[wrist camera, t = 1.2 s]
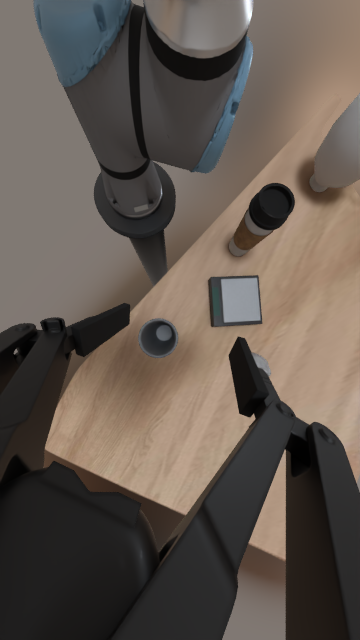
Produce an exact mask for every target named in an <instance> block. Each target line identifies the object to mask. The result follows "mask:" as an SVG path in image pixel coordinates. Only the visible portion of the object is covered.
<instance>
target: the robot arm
mask: <svg viewBox="0 0 360 640" xmlns="http://www.w3.org/2000/svg"><path fill="white" fill-rule="evenodd" d="M143 2H144V7H141V6H138V5H135V4H133V3H132V1H131V0H34V11H35V17H36V21H37V24H38V27H39V31H40V33H41V36H42V38H43V40H44V43H45V45H46V48H47V50H48V52H49V55H50V57H51V60H52V62H53V64H54V67H55V69H56V72H57V75H58V79H59V81H60V82H61V84H62V85H63V87H64V89H65V91H66V93H67V96H68V98H69V100H70V102H71V104H72V107H73V109H74V111H75V113H76V115H77V117H78V119H79V122H80V124H81V126H82V128H83V130H84V132H85V134H86V136H87V139H88V141H89V143H90V145H91V147H92V150H93V152H94V154H95V156H96V158H97V160H98V162H99V165H100V168H101V173H102V178H103V183H104V189H105V193H106V196H107V199H108V201H109V203H110V204H111V206H112V208H113V209H114V210H115V212H116V213H118V214H119V215H120V216H122V217H124V218H126V219H130V220H143V219H146V218H148V217H150V216H152V215H153V214H154V213H155V212H156V211H157V210H158V209H159V207H160V205H161V202H162V187H161V183H160V179H159V177H158V174H157V171H156V169H155V166H154V163H153V161H157V162H161V163H164V164H168V165H171V166H175V167H179V168H182V169H186V170H189V171H191V172H195V171H196V172H201V173H209V172H211V171H212V170H213V169H214V168H215V166H216V165H217V163H218V161H219V159H220V157H221V154H222V152H223V149H224V146H225V144H226V141H227V139H228V136H229V133H230V131H231V128H232V125H233V122H234V119H235V113H236V111H237V109H238V106H239V103H240V100H241V97H242V94H243V91H244V88H245V84H246V81H247V77H248V74H249V70H250V65H251V61H252V56H253V45H252V43H251V42H250V39H249V37H247V36H246V35H247V31H248V27H249V23H250V19H251V15H252V9H253V0H143ZM152 160H153V161H152ZM129 321H130V305H129V304H126V303H123V304H121V305H119V306H117V307H114V308H112V309H110V310H108V311H105V312H103V313H101V314H99V315H96V316H93V317H89V318H86V319H84V320H82V321H80V322H77V323H75V324H72V325H70V326H68V327H66V326H65V322H64V320H63V319H62V318H48V319H44V320H42V321H41V322H40V323H41V326H42V329H43V330H37V329H36V326H35V325H34V324H30V323H27V324H25V323H24V324H18V325H15V326H12V327H10V328H9V329H7V330H5V331H3V332H1V333H0V640H222V638H223V635H224V632H225V629H226V626H227V623H228V621H229V618H230V615H231V612H232V609H233V606H234V602H235V599H236V594H237V588H238V580H237V574H238V569H239V566H240V563H241V560H242V558H243V555H244V553H245V550H246V548H247V545H248V542H249V540H250V537H251V535H252V532H253V530H254V527H255V524H256V522H257V519H258V517H259V514H260V512H261V509H262V506H263V504H264V501H265V499H266V496H267V494H268V491H269V488H270V486H271V483H272V481H273V478H274V476H275V473H276V470H277V468H278V465H279V463H280V460H281V458H282V455H283V452H284V450H285V449H286V640H360V492H359V489H358V487H357V483H356V481H355V478H354V475H353V472H352V469H351V466H350V463H349V460H348V458H347V455H346V452H345V449H344V446H343V444H342V443H341V441H340V440H339V438H338V437H337V436H336V435H335V434H334V433H333V432H332V431H331V430H330V429H328V428H327V427H326V426H324V425H322V424H320V423H318V422H313V423H312V424H310V425H309V424H307V423H305V422H304V421H302V420H300V419H299V418H297V417H296V416H295V414H294V412H293V411H292V410H291V408H290V407H289V406H288V405H286V404H285V403H284V402H282V401H281V400H280V398H279V396H278V394H277V392H276V391H275V389H274V387H273V385H272V383H271V381H270V379H269V377H268V375H267V373H266V372H265V371H264V370H263V369H262V368H258V367H257V364H256V362H255V360H254V358H253V355H252V353H251V351H250V349H249V346H248V344H247V342H246V340H245V338H241V337H238V338H237V340H236V342H235V344H234V346H233V348H232V350H231V352H230V354H229V360H230V365H231V371H232V376H233V382H234V387H235V392H236V398H237V403H238V409H239V414H242V415H244V416H247V417H251V416H252V415H253V413H254V415H255V418H256V419H255V420H254V422H253V423H252V424H251V425H250V426H249V429H248V430H247V431H246V433H245V434H244V436H243V437H242V438H241V440H240V441H239V442H238V444H237V445H236V447H235V448H234V449H233V451H232V452H231V454H230V455H229V456H228V458H227V459H226V461H225V462H224V463H223V465H222V466H221V467H220V469H219V470H218V472H217V473H216V474H215V476H214V477H213V479H212V480H211V481H210V483H209V484H208V486H207V487H206V488H205V490H204V491H203V492H202V494H201V495H200V497H199V498H198V499H197V501H196V502H195V504H194V505H193V506H192V508H191V509H190V511H189V512H188V513H187V515H186V516H185V517H184V519H183V520H182V521H181V522H180V524H179V525H178V526H177V527H176V529H175V530H174V531H173V533H172V534H171V535H170V537H169V538H168V540H167V541H166V542H165V544H164V545H163V547H162V548H161V549H160V551H159V552H158V549H157V545H156V540H155V537H154V534H153V531H152V529H151V526H150V524H149V522H148V520H147V518H146V517H145V515H144V514H143V512H142V511H141V510H140V506H141V503H139V502H137V501H135V500H133V499H131V498H129V497H127V496H125V495H123V494H121V493H119V492H90V491H89V490H88V489H87V488H86V486H85V485H84V484H83V482H82V481H81V480H80V478H79V477H78V475H77V474H76V473H75V471H74V470H72V469H70V468H68V467H66V466H64V465H62V464H59V463H57V462H55V461H53V462H52V464H51V465H50V466H49V467H47V468H43V465H44V449H45V444H46V441H47V438H48V434H49V431H50V427H51V424H52V420H53V417H54V414H55V410H56V407H57V403H58V400H59V396H60V393H61V390H62V386H63V383H64V379H65V376H66V372H67V369H68V366H69V362H70V359H71V355H72V353H71V351H72V350H74V349H75V350H76V354H77V355H80V356H83V357H85V356H86V355H88V354H89V353H90V352H92V351H93V350H95V349H96V348H97V347H99V346H100V345H101V344H103V343H104V342H105V341H107V340H108V339H110V338H111V337H112V336H114V335H115V334H116V333H118V332H119V331H121V330H122V329H123V328H125V327H126V326H127V325H129ZM16 348H17V350H18V352H17V353H16V354H15V355H14V351H15V349H16ZM138 513H139V514H138ZM136 520H137V521H136Z"/></svg>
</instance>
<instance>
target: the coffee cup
mask: <svg viewBox="0 0 360 640" xmlns="http://www.w3.org/2000/svg"><path fill="white" fill-rule="evenodd" d="M294 205H295V200H294V195H293V193H292V192H291V190H290V189H289V188H288V187H286V186H285V185H283V184H280V183H271V184H268V185H266V186H264V187H263V188H262V189H261V190H260V192H259V193H257V194H256V195H255V196H254V198H253V199H252V200H251V202H250V205H249V208H248V210H247V211H246V213H245V215H244V217H243V218H242V220H241V222H240V224H239V226H238V228H237V230H236V232H235V234H234V236H233V237H232V239H231V241H230V243H229V250H230V252H231V253H232V254H233V255H235V256H242V255H244V254H245V253H246V252H248V251H249V250H250V249H251V248H253V247H254V246H255V245H256V244H258V243H259V242H260V241H262V240H263V239H264V238H265V237H267V236H268V235H269V234H271V233H272V232H273V231H274V230H275V229H277V228H279V227H280V226H282V224H283V223H284V222H285V221H286V220H287V218H288V216H289V215H290V213H291V212H292V211H293V208H294Z"/></svg>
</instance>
